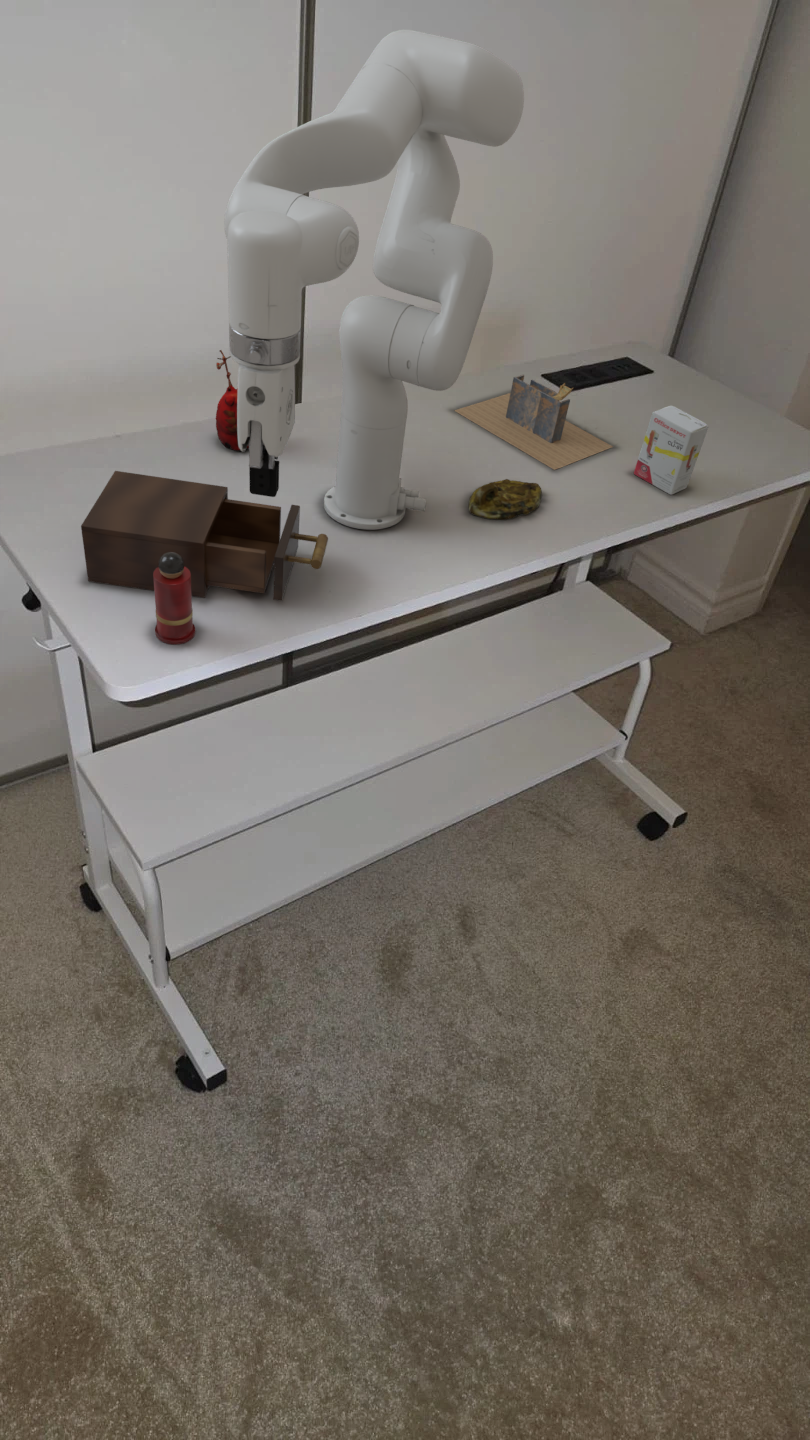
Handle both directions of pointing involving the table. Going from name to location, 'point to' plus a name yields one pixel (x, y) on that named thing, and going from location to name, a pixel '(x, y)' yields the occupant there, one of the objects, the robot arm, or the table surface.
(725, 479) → the table surface
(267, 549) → the drawer
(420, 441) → the table surface
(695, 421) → the ink box
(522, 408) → the ruin model on sheet
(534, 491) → the mottled olive oval lump
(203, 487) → the cabinet
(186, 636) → the red cylinder
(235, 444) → the red clay folk toy
